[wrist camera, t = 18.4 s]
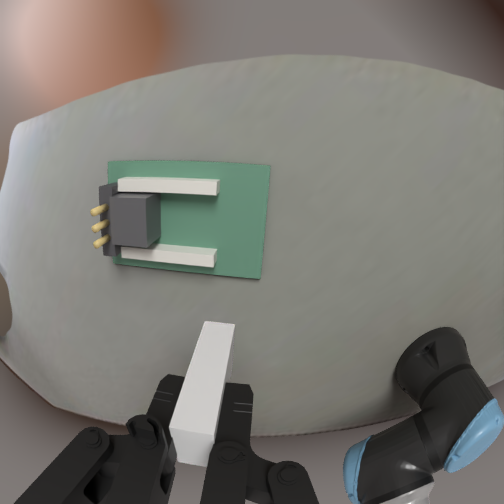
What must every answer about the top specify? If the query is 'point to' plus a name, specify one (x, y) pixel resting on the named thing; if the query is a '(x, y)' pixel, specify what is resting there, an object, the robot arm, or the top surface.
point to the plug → (135, 218)
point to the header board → (193, 215)
